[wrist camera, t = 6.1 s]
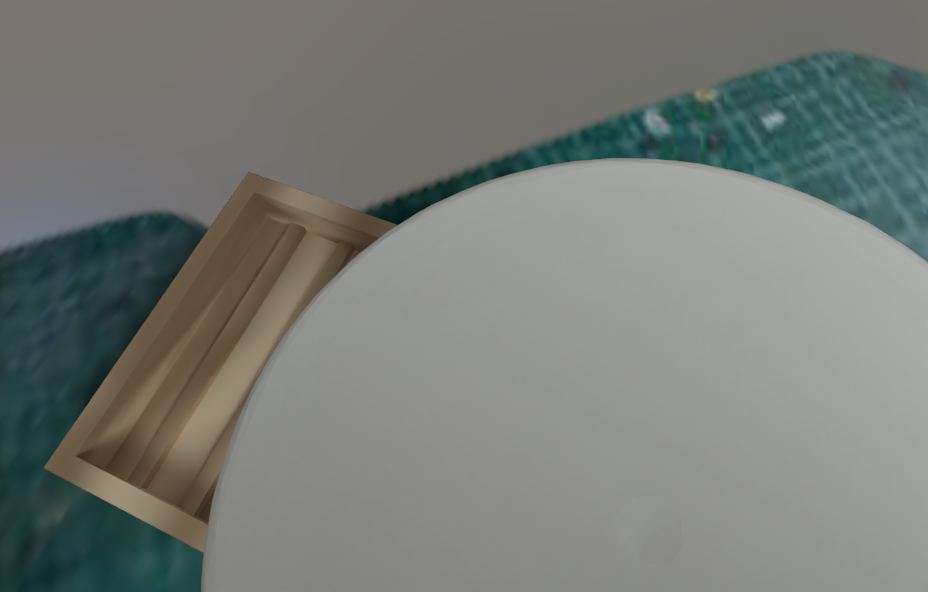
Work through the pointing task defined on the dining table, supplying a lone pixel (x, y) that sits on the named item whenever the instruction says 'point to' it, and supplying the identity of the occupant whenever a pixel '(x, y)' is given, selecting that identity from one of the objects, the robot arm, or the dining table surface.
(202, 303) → the slatted wooden tray
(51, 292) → the dining table surface
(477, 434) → the supplement tub
